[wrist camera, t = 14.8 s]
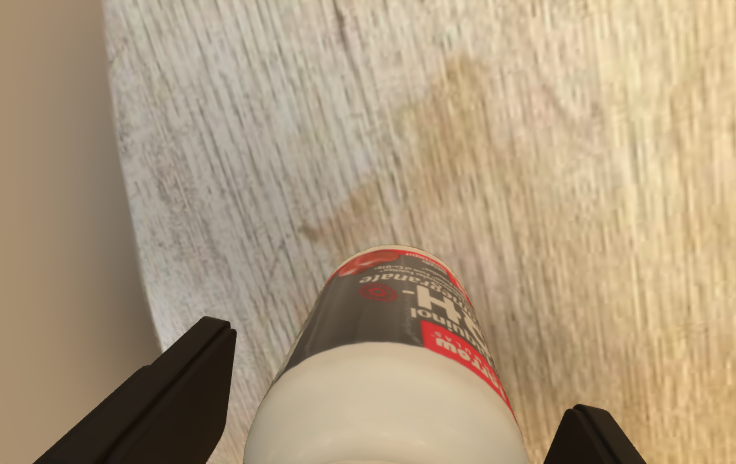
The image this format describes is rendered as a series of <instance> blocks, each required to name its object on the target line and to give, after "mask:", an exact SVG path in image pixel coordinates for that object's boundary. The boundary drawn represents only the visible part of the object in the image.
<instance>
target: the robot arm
mask: <svg viewBox="0 0 736 464" xmlns="http://www.w3.org/2000/svg"><path fill="white" fill-rule="evenodd" d="M236 337H237V332H236V330H235V329H231V325H230V322H229V321H225V320H221V319H217V318H212V317H208V316H204V317H203V318H201V319H200V320H199V321H198V322H197V323H196V324H195V325H194V326H193V327H191V328H190V329H189V330H188V331H187V332H186V333H185V334H184V335H183V336H182V337H181V338H179V339H178V340H177V341H176V342H175V343H174V344H173V345H172V346H171V347H170V348H168V349H167V350H166V351H165V352H164V353H163V354H162V355H161V356H160V357H159V358H158V359H157V360H155V361H154V362H153V363H152V364H151V365H147V366H143V367H142V368H140V369H139V370H137V371H136V372H135V373H134V374H133V375H132V376H131V377H130V378H128V379H127V380H126V381H125V382H124V383H123V384H122V385H121V386H119V387H118V388H117V389H116V390H115V391H114V392H113V393H111V394H110V395H109V396H108V397H107V398H106V399H105V400H104V401H103V402H101V403H100V404H99V405H98V406H97V407H96V408H95V409H94V410H92V411H91V412H90V413H89V414H88V415H87V416H86V417H84V418H83V419H82V420H81V421H80V422H79V423H78V424H77V425H76V426H74V427H73V428H72V429H71V430H70V431H69V432H68V433H67V434H65V435H64V436H63V437H62V438H61V439H60V440H59V441H58V442H56V443H55V444H54V445H53V446H52V447H51V448H50V449H49V450H47V451H46V452H45V453H44V454H43V455H42V456H41V457H40V458H38V459H37V460H36V461H35V462H34V463H33V464H206V462H207V460H208V459H209V457H210V455H211V454H212V452H213V450H214V449H215V447H216V445H217V444H218V442H219V440H220V438H221V436H222V434H223V431H224V428H225V424H226V417H227V409H228V401H229V393H230V385H231V377H232V369H233V361H234V353H235V345H236ZM543 464H646V462H645V461H644V460H643V458H642V457H641V455H640V454H639V453H638V451H637V450H636V449H635V447H634V446H633V444H632V443H631V442H630V440H629V439H628V438H627V436H626V435H625V434H624V432H623V431H622V429H621V428H620V427H619V425H618V424H617V423H616V421H615V420H614V419H613V417H612V416H611V414H610V413H609V412H608V411H606V410H603V409H599V408H595V407H591V406H587V405H582V404H577V405H575V406H574V407H573V409H567V410H566V411H565V413H564V415H563V418H562V420H561V422H560V425H559V427H558V430H557V432H556V435H555V437H554V439H553V442H552V444H551V447H550V449H549V451H548V454H547V456H546V459H545V461H544V463H543Z"/></svg>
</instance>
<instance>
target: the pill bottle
mask: <svg viewBox="0 0 736 464" xmlns="http://www.w3.org/2000/svg"><path fill="white" fill-rule="evenodd" d="M243 464H529V460H528V455H527V452H526V448H525V445H524V440H523V437H522V434H521V431H520V429H519V426H518V424H517V421H516V419H515V416H514V413H513V411H512V408H511V406H510V403H509V400H508V398H507V396H506V394H505V391H504V389H503V386H502V384H501V381H500V378H499V375H498V372H497V370H496V368H495V365H494V362H493V360H492V357H491V355H490V352H489V350H488V348H487V345H486V343H485V340H484V337H483V335H482V332H481V330H480V327H479V324H478V321H477V319H476V317H475V313H474V310H473V307H472V305H471V303H470V301H469V298H468V295H467V293H466V291H465V289H464V287H463V285H462V284H461V282H460V281H459V279H458V278H457V276H456V275H455V274H454V272H453V271H452V270H451V269H450V268H449V267H448V266H447V265H446V264H444V263H443V262H442V261H441V260H439V259H438V258H436V257H435V256H433V255H431V254H429V253H427V252H425V251H422V250H419V249H416V248H412V247H408V246H399V245H383V246H377V247H373V248H370V249H366V250H364V251H361V252H359V253H357V254H355V255H353V256H351V257H350V258H348V259H347V260H345V261H344V262H343V263H342V264H341V265H340V266H339V267H337V268H336V270H335V271H334V272H333V274H332V275H331V276H330V278H329V279H328V281H327V282H326V284H325V286H324V287H323V289H322V291H321V292H320V294H319V296H318V298H317V300H316V302H315V304H314V306H313V308H312V310H311V312H310V313H309V315H308V317H307V319H306V321H305V323H304V325H303V326H302V328H301V330H300V332H299V334H298V336H297V338H296V340H295V342H294V343H293V345H292V347H291V349H290V351H289V353H288V354H287V356H286V358H285V360H284V362H283V364H282V366H281V368H280V369H279V371H278V373H277V375H276V377H275V379H274V380H273V382H272V384H271V386H270V388H269V390H268V391H267V393H266V395H265V397H264V398H263V400H262V402H261V403H260V405H259V407H258V410H257V413H256V416H255V418H254V420H253V423H252V425H251V428H250V431H249V433H248V437H247V441H246V445H245V451H244V459H243Z"/></svg>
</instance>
